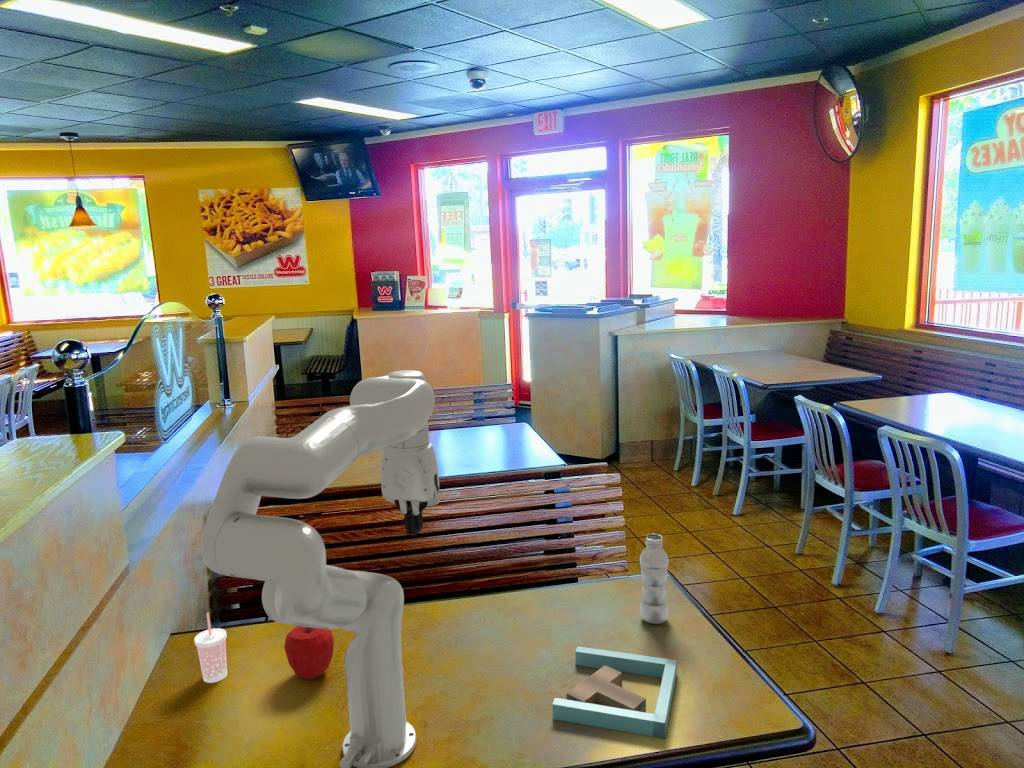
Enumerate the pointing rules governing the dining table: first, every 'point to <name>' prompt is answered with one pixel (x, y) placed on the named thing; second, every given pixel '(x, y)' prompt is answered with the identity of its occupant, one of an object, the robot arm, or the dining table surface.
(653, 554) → the plastic bottle
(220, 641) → the beverage cup
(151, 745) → the dining table surface
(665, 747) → the dining table surface
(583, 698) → the walnut T-block
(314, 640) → the apple
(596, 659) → the teal corral
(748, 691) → the dining table surface
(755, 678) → the dining table surface
